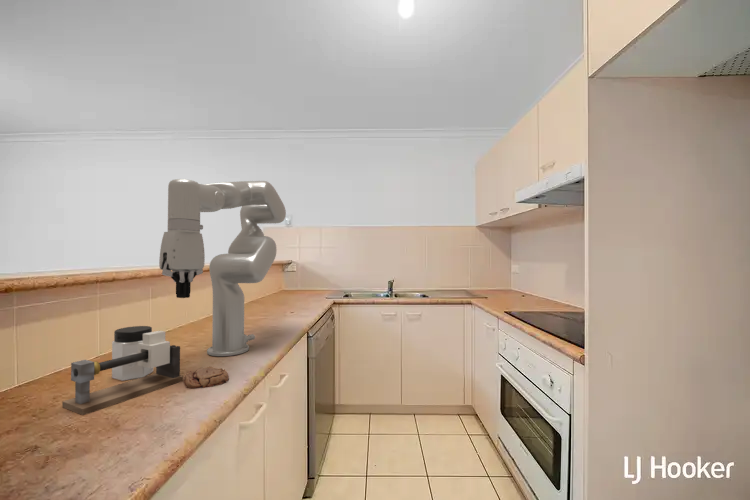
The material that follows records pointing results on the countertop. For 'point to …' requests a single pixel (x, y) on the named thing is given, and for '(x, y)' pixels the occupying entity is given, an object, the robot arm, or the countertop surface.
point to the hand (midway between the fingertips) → (183, 297)
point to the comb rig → (109, 396)
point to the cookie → (206, 377)
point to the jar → (129, 352)
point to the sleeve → (154, 349)
